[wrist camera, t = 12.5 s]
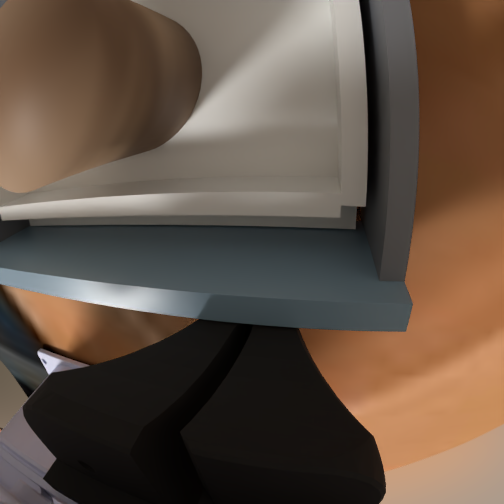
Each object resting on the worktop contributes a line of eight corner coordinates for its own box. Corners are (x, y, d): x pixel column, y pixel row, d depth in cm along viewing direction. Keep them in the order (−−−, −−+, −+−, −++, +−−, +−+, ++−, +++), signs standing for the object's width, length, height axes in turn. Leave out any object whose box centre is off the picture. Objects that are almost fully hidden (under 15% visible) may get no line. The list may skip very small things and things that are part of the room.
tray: (376, 240, 10) (405, 331, 6) (37, 232, 14) (-32, 275, 9) (362, -58, 6) (376, -143, 1) (17, 35, 9) (-60, 37, 5)
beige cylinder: (208, 145, 9) (108, 180, 5) (86, 161, 10) (-20, 201, 6) (198, -2, 7) (102, -63, 3) (77, 39, 8) (-30, 33, 4)
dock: (376, 218, 10) (404, 281, 6) (39, 217, 14) (-23, 252, 10) (358, -67, 6) (367, -137, 2) (23, 23, 9) (-43, 22, 5)
